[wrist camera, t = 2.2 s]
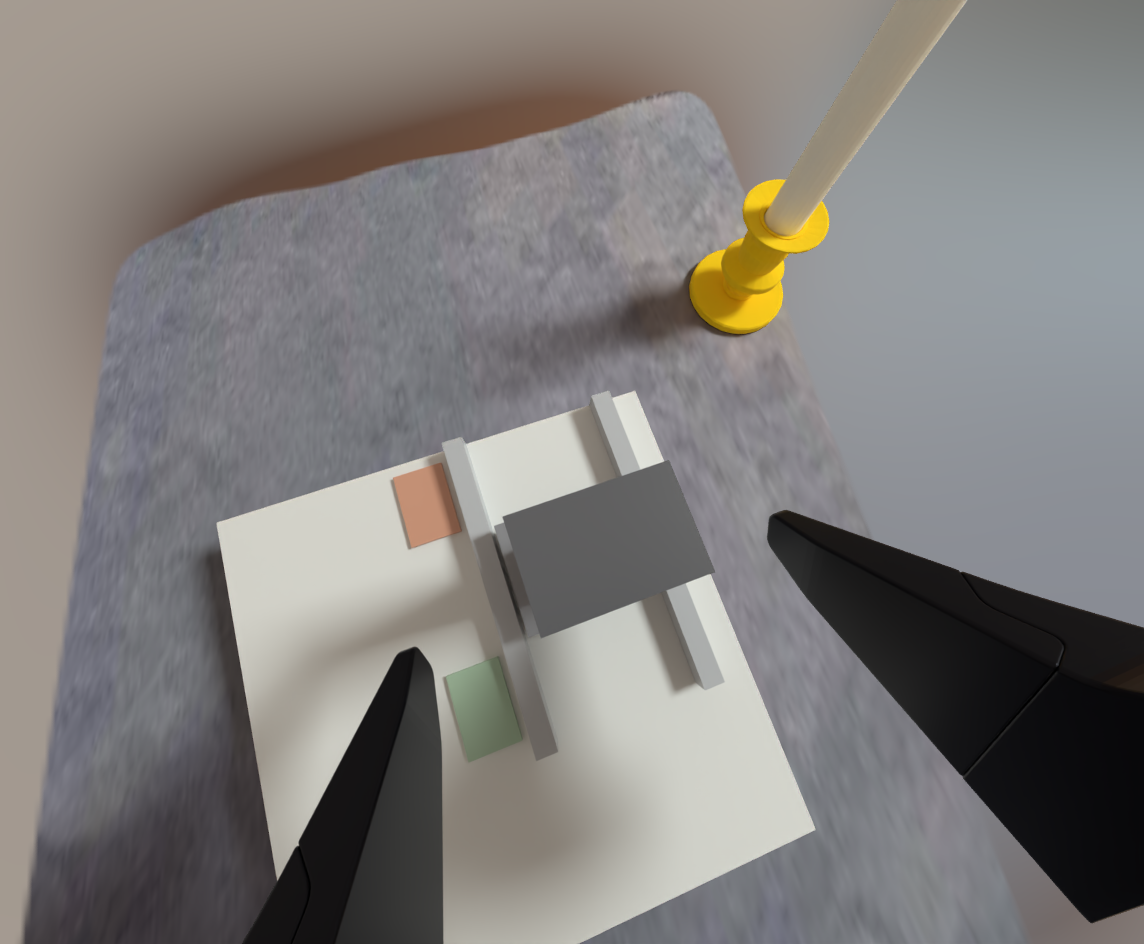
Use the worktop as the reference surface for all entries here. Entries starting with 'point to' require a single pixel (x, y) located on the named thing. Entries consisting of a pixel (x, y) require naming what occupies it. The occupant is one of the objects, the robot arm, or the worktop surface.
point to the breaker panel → (509, 687)
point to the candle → (813, 175)
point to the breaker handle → (601, 549)
